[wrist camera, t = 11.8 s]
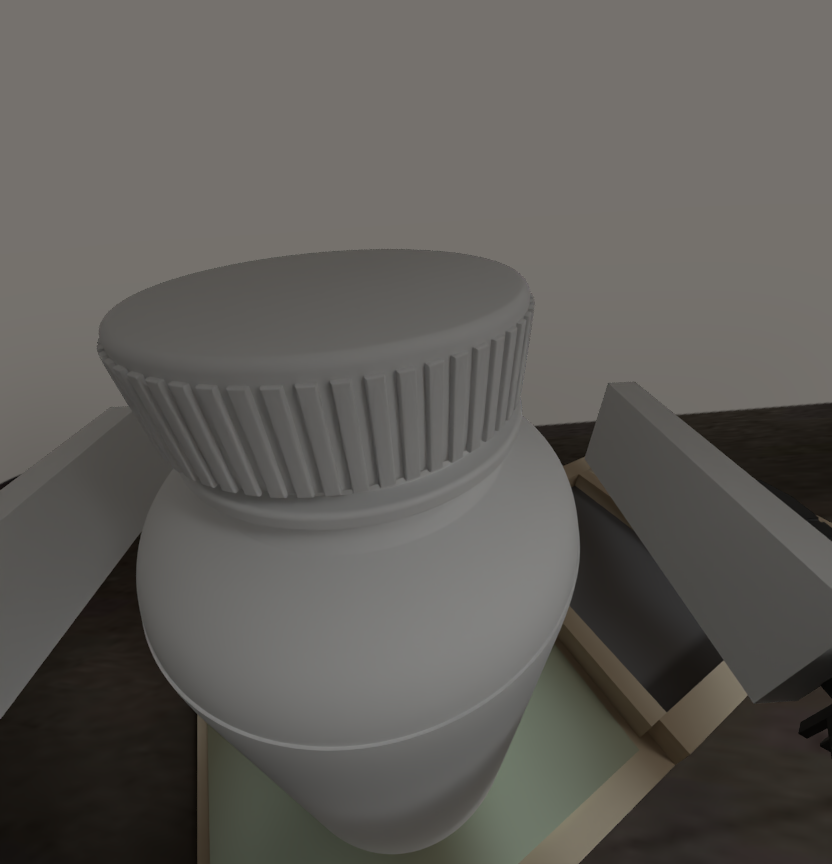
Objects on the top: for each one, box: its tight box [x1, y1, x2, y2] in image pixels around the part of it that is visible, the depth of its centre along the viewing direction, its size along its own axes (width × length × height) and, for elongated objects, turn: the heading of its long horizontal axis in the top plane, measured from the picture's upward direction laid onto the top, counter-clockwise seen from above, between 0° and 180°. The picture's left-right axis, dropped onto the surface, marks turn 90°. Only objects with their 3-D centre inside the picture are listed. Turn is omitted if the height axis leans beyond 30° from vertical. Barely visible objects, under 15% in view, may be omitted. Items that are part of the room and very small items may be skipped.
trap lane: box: [197, 457, 832, 864], centre depth 16 cm, size 30×12×2 cm, turn 117°
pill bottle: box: [97, 249, 580, 854], centre depth 9 cm, size 8×8×15 cm
